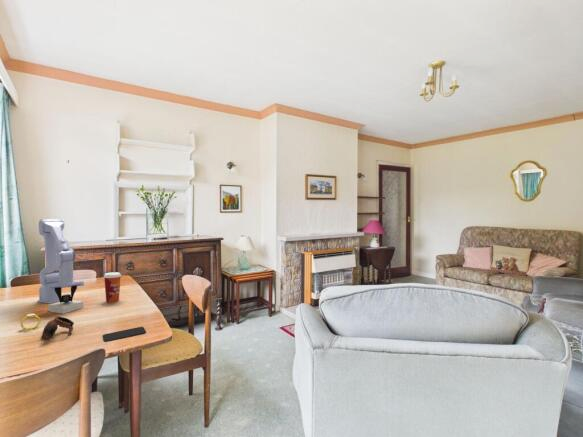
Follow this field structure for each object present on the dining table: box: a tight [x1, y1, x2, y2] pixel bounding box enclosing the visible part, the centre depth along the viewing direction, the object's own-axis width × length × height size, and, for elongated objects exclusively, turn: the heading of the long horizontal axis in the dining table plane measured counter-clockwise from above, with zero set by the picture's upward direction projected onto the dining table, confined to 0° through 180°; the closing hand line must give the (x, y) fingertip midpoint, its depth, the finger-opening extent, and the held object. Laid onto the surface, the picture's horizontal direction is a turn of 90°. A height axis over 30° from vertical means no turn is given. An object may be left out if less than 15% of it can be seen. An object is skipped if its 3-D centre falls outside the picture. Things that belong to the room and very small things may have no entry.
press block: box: [47, 299, 84, 314], centre depth 152 cm, size 10×10×3 cm
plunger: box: [61, 293, 71, 304], centre depth 152 cm, size 4×4×7 cm
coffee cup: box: [103, 271, 122, 304], centre depth 166 cm, size 8×8×15 cm
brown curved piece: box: [41, 316, 75, 341], centre depth 121 cm, size 12×10×8 cm
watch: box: [20, 313, 41, 330], centre depth 128 cm, size 6×3×6 cm, turn 128°
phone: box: [102, 326, 147, 343], centre depth 124 cm, size 7×1×15 cm
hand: (66, 301), depth 151 cm, fingers closed on plunger, 4 cm apart
